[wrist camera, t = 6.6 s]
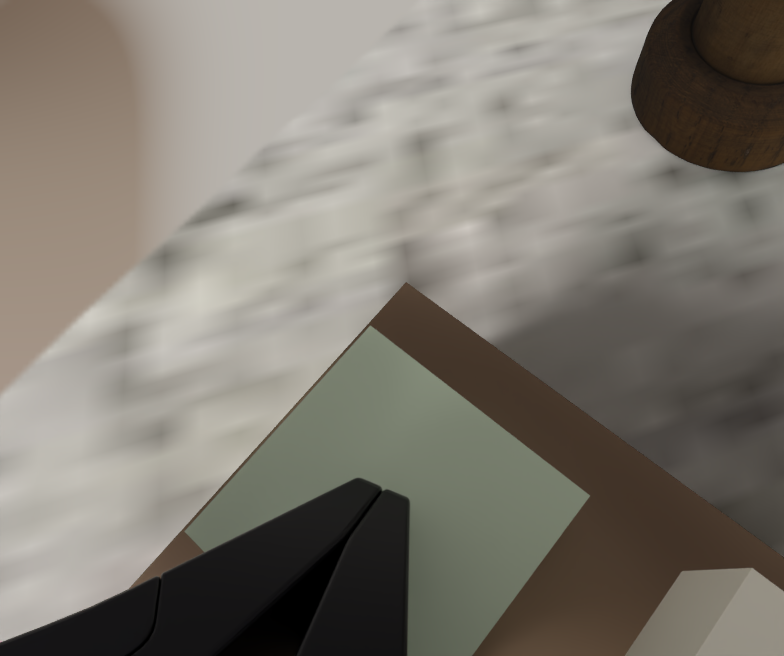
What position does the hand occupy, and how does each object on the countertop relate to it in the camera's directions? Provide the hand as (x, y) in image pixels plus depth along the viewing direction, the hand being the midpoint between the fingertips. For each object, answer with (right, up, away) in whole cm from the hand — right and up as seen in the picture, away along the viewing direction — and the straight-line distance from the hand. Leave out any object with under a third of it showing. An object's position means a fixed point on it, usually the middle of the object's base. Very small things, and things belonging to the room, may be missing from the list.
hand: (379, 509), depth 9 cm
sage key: (0, -1, +3) cm, 3 cm away
